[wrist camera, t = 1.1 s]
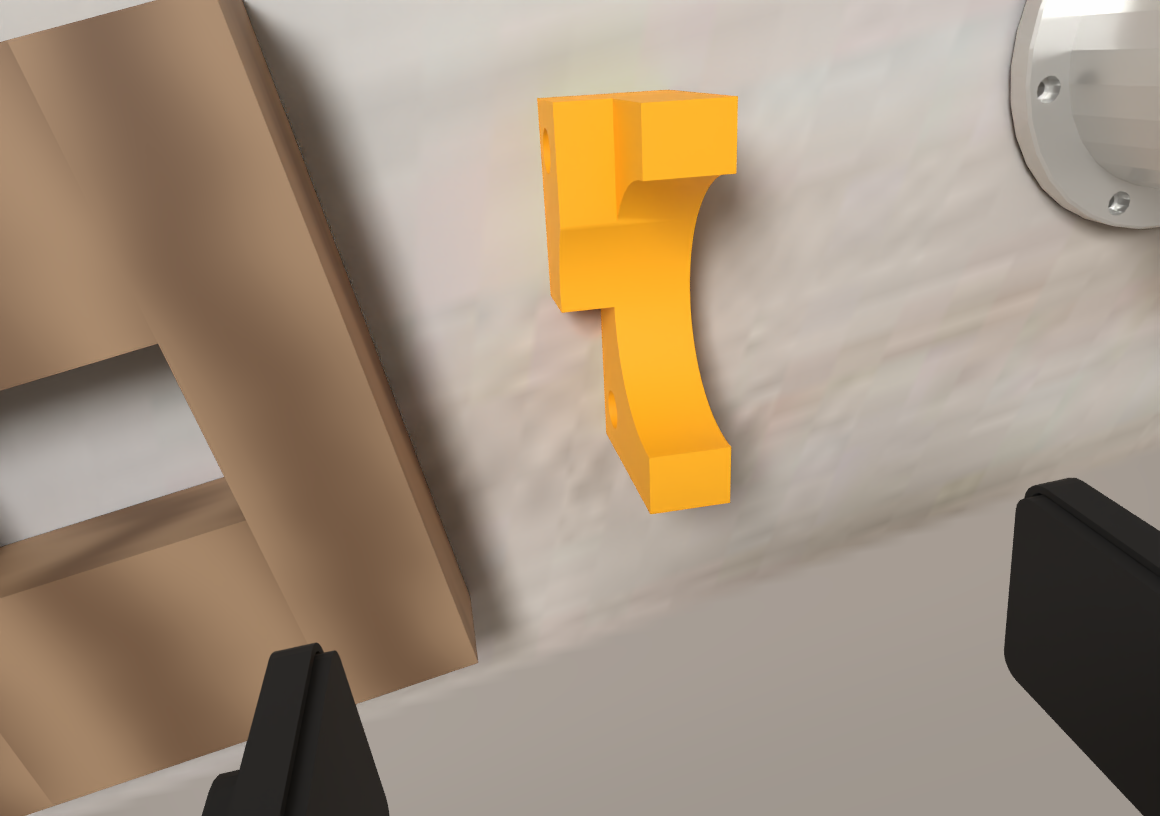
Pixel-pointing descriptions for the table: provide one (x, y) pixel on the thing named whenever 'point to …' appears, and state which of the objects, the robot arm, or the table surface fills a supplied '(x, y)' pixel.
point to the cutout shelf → (196, 410)
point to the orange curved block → (641, 270)
